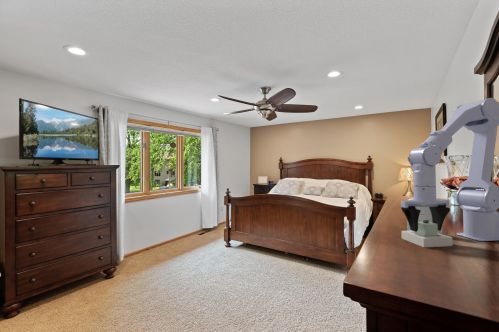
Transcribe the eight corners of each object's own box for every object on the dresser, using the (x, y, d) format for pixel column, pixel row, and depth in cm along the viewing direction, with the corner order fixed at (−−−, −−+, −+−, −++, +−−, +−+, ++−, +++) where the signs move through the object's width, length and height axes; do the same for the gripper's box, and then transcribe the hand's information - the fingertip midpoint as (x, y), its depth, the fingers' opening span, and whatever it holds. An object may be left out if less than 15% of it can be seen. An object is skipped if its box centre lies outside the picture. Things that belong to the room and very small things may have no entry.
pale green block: (427, 240, 77) (426, 218, 77) (437, 244, 73) (437, 221, 73) (415, 240, 77) (414, 219, 77) (425, 244, 73) (425, 221, 73)
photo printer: (405, 231, 88) (404, 196, 88) (409, 229, 91) (408, 196, 91) (440, 236, 80) (439, 199, 80) (444, 234, 83) (443, 198, 83)
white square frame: (427, 237, 80) (427, 229, 80) (452, 246, 71) (452, 237, 71) (401, 238, 79) (401, 230, 79) (423, 247, 70) (423, 238, 70)
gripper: (435, 184, 80) (436, 226, 80) (393, 185, 79) (394, 228, 78) (455, 186, 73) (456, 231, 73) (409, 187, 71) (410, 233, 71)
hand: (425, 230), depth 75 cm, fingers open, 7 cm apart
